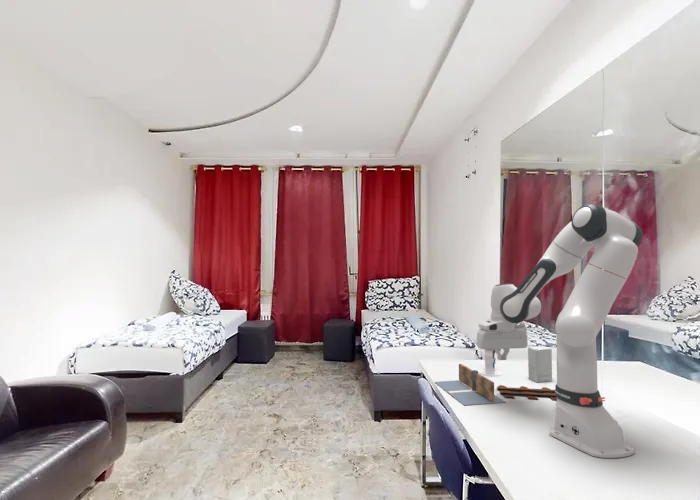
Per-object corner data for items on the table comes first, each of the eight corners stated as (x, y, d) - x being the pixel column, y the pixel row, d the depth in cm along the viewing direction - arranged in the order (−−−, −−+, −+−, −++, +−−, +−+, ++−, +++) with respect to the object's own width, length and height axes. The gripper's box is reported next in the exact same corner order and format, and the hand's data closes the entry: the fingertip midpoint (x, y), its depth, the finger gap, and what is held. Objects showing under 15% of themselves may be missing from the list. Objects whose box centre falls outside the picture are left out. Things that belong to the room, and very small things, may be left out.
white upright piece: (501, 377, 179) (501, 345, 180) (475, 374, 184) (475, 342, 184) (503, 371, 190) (502, 340, 190) (479, 368, 195) (478, 338, 195)
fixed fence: (479, 391, 160) (479, 371, 160) (473, 391, 159) (473, 372, 160) (462, 380, 174) (462, 362, 174) (457, 380, 174) (457, 362, 174)
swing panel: (494, 401, 148) (494, 382, 148) (491, 401, 147) (491, 382, 148) (478, 390, 159) (478, 373, 160) (475, 390, 159) (475, 373, 159)
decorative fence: (565, 403, 149) (551, 390, 164) (565, 398, 149) (551, 386, 164) (502, 399, 153) (494, 387, 168) (502, 395, 153) (494, 383, 168)
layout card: (505, 402, 148) (505, 401, 148) (464, 405, 145) (464, 404, 145) (470, 380, 175) (470, 379, 175) (434, 382, 172) (434, 381, 172)
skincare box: (543, 377, 179) (543, 345, 179) (553, 381, 173) (552, 348, 174) (527, 379, 177) (527, 346, 178) (536, 383, 171) (536, 349, 172)
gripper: (521, 322, 158) (520, 356, 158) (474, 323, 154) (474, 358, 154) (531, 325, 152) (530, 361, 152) (482, 326, 148) (482, 362, 148)
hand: (501, 359), depth 153 cm, fingers closed
